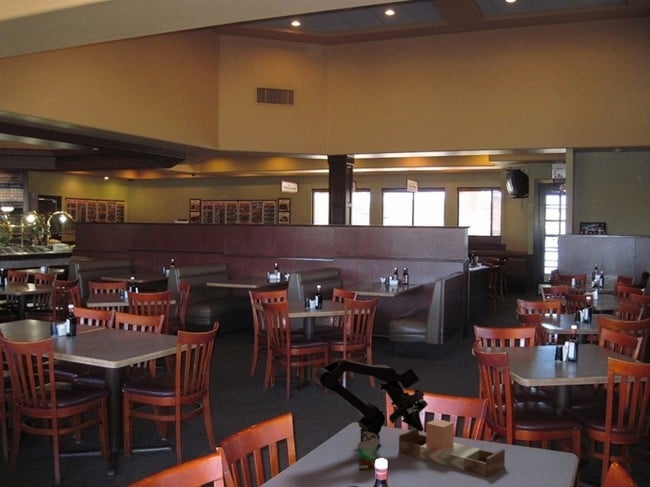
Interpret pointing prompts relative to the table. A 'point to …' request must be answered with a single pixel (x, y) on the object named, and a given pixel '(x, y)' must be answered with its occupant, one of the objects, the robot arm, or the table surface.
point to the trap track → (453, 454)
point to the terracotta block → (439, 434)
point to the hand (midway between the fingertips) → (422, 430)
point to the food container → (368, 451)
